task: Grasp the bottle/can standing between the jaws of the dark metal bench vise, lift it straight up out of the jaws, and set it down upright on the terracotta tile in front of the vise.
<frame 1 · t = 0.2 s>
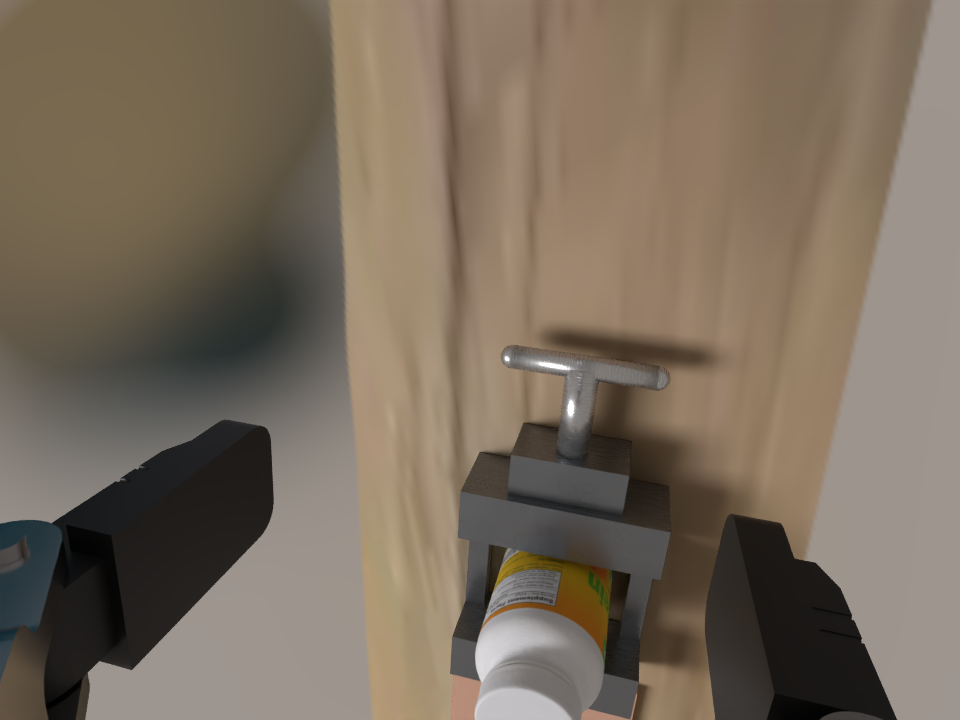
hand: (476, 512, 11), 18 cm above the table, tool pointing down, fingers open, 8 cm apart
supplement bottle: (559, 558, 33), resting in bench vise
bench vise: (559, 561, 33), on the table
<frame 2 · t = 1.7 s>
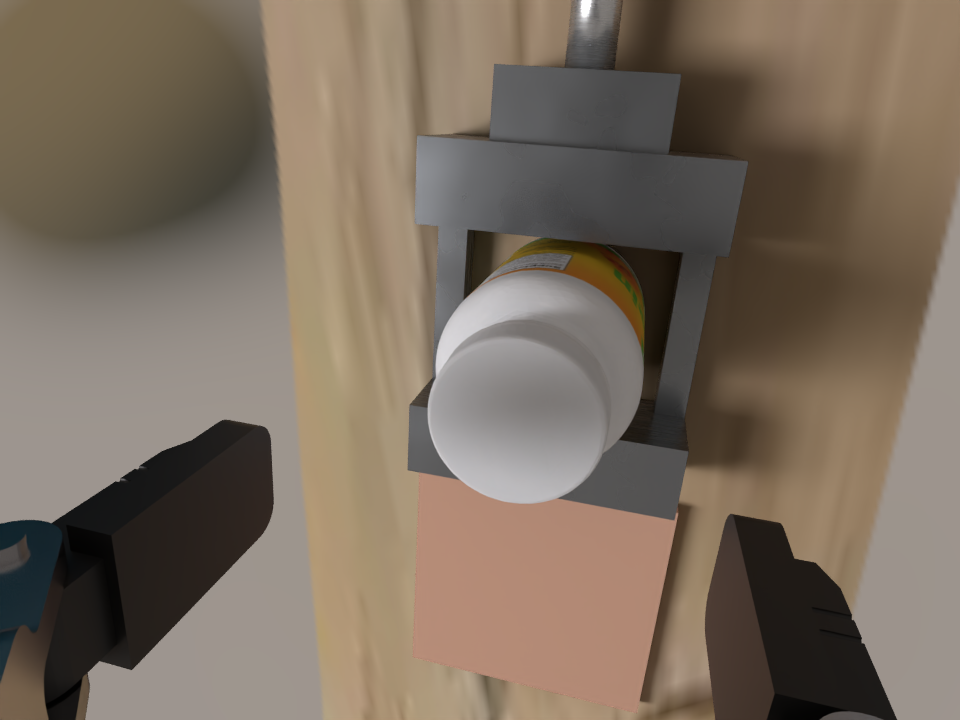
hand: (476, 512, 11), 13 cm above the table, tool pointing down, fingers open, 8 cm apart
terracotta tile: (533, 583, 27), on the table
supplement bottle: (567, 306, 23), resting in bench vise
bench vise: (566, 308, 23), on the table
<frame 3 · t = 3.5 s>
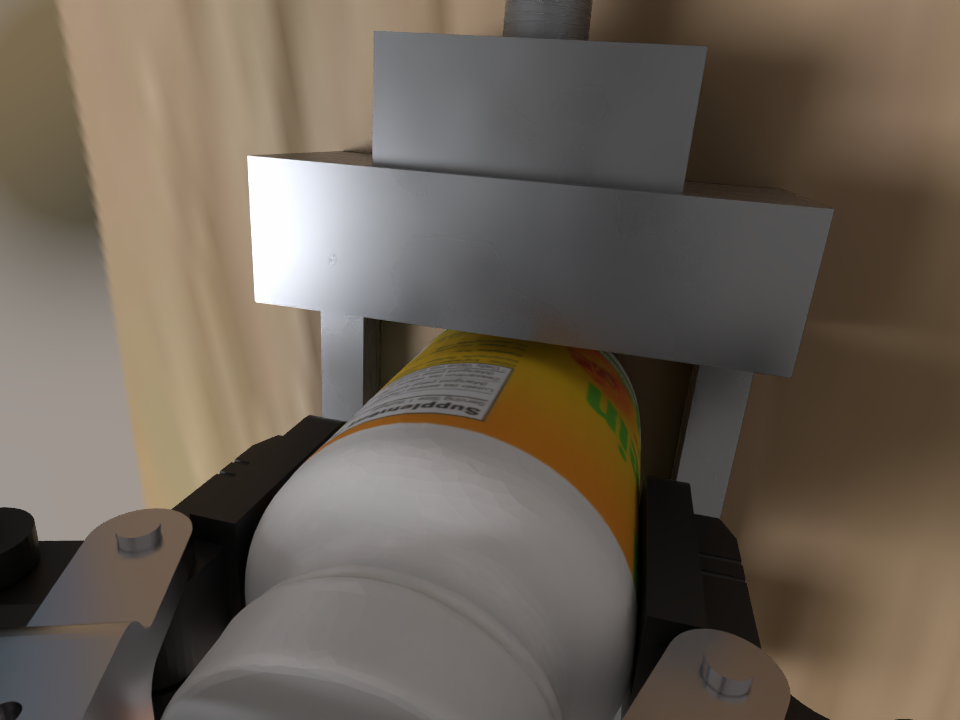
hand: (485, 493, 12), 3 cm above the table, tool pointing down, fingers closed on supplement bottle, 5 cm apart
supplement bottle: (523, 412, 15), resting in bench vise, touching gripper
bench vise: (521, 416, 15), on the table
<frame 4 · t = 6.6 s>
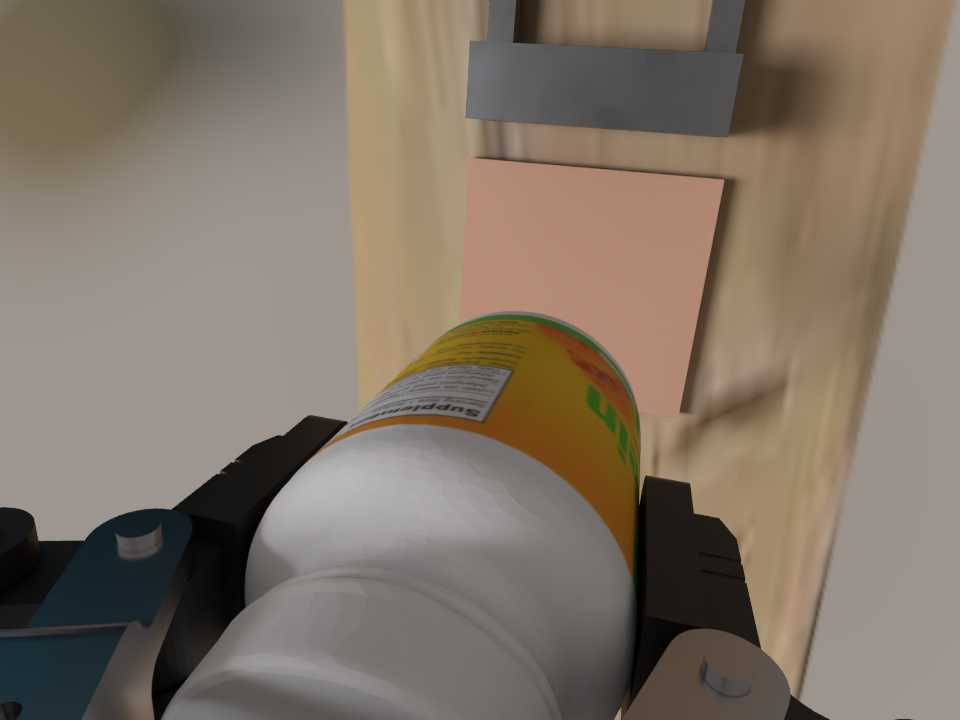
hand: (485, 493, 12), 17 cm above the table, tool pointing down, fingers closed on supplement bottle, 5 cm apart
terracotta tile: (578, 288, 28), on the table
supplement bottle: (522, 415, 15), point 14 cm above the table, touching gripper
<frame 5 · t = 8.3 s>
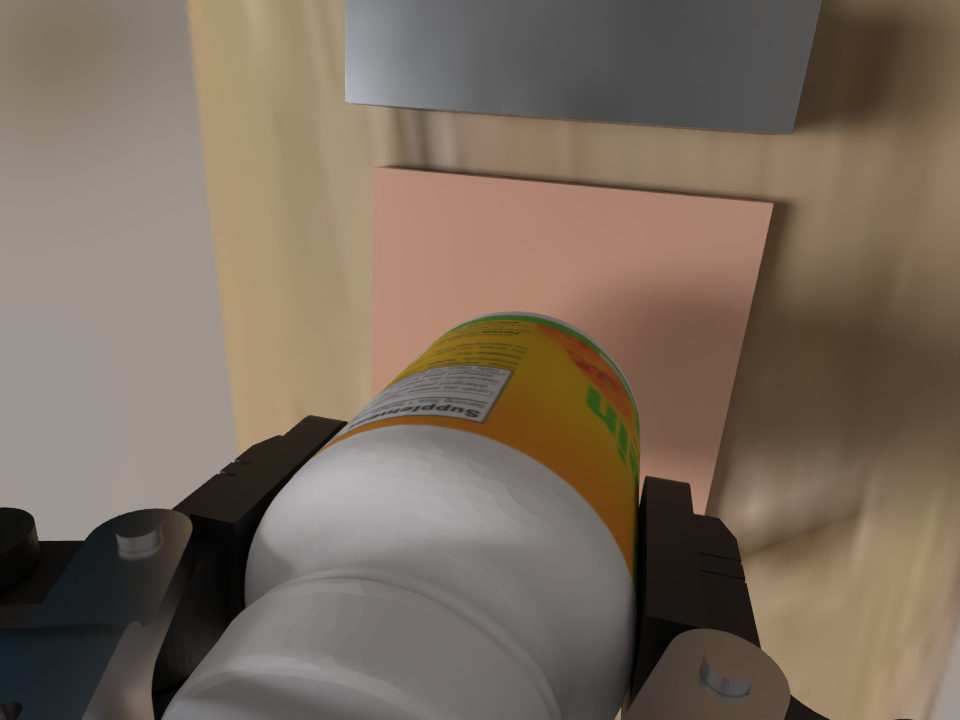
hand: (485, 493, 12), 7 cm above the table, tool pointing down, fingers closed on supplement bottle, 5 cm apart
terracotta tile: (544, 363, 18), on the table
supplement bottle: (522, 415, 15), point 4 cm above the table, touching gripper
when the fingers open (5 cm above the table, at t = 9.6 s): supplement bottle drops 1 cm, resting on terracotta tile.
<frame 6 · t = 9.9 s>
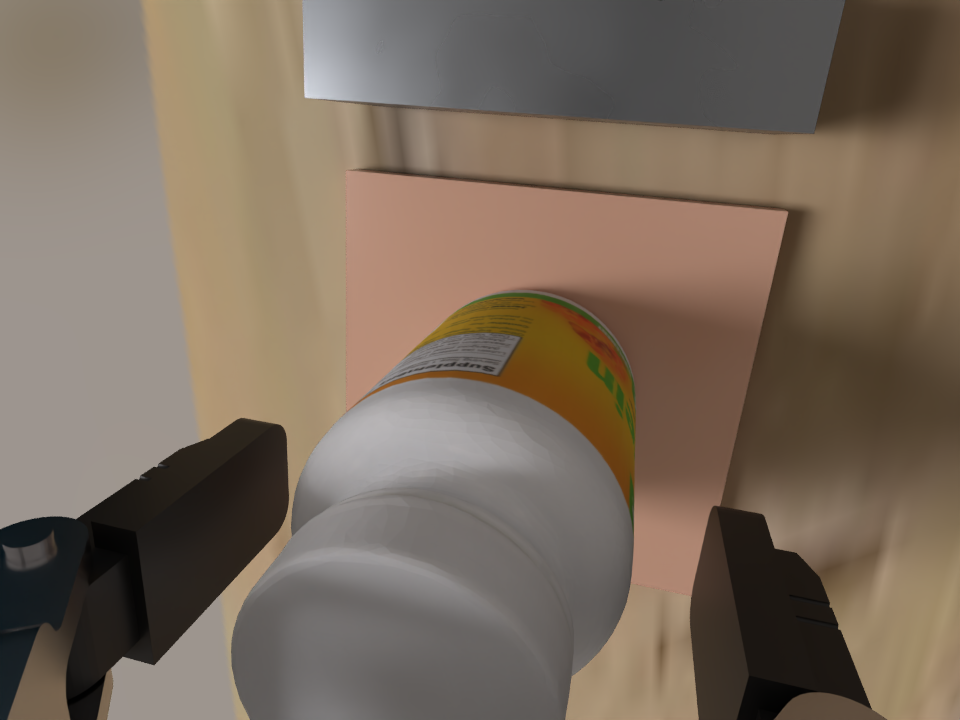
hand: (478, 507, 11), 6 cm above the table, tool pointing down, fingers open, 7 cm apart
terracotta tile: (534, 385, 17), on the table
supplement bottle: (527, 387, 16), resting on terracotta tile
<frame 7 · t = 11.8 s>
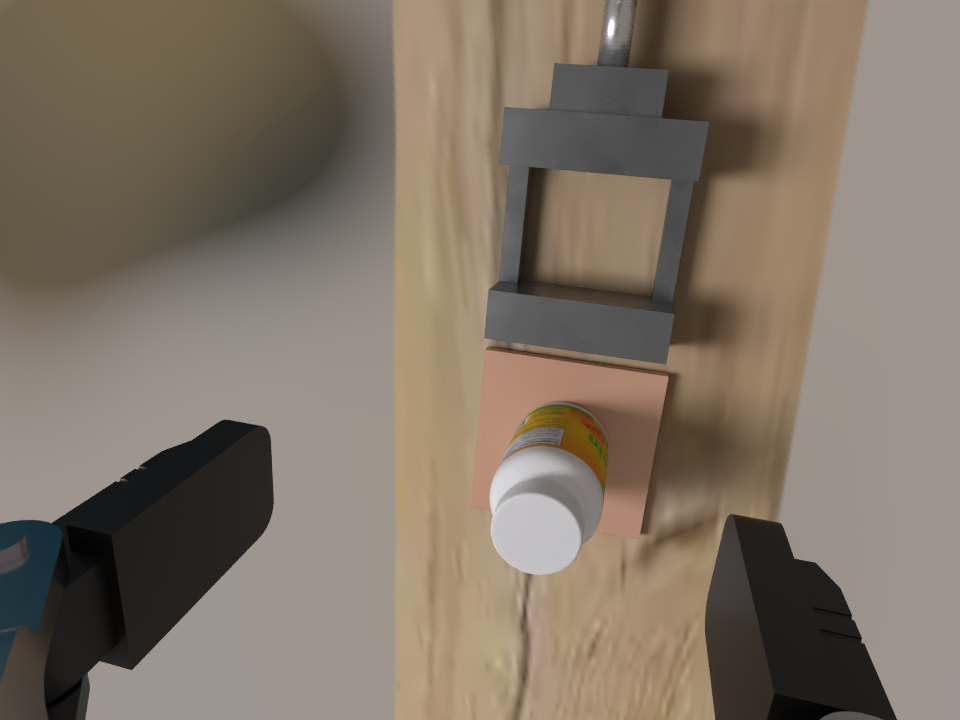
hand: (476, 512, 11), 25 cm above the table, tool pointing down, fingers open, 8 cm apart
terracotta tile: (564, 441, 37), on the table
supplement bottle: (562, 442, 37), resting on terracotta tile
bench vise: (592, 231, 33), on the table
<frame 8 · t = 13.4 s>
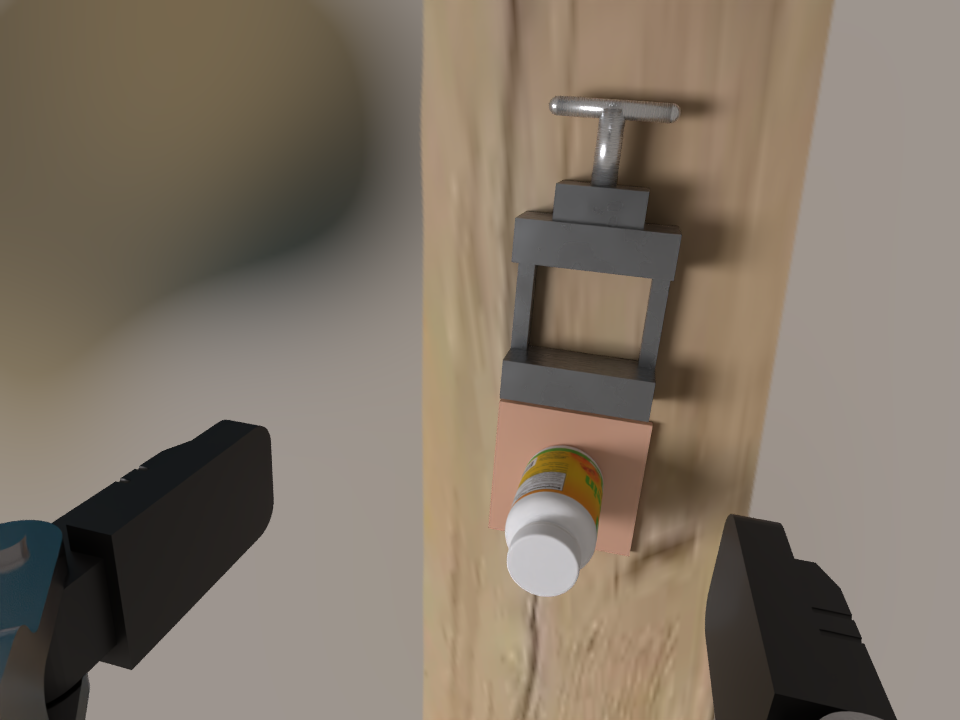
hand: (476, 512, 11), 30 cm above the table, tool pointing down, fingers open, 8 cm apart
terracotta tile: (566, 475, 44), on the table
supplement bottle: (564, 477, 44), resting on terracotta tile
bench vise: (588, 307, 40), on the table
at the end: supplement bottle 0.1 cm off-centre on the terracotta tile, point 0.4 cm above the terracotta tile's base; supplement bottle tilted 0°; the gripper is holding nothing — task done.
